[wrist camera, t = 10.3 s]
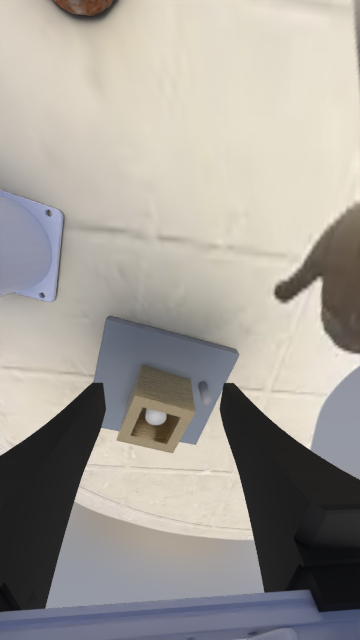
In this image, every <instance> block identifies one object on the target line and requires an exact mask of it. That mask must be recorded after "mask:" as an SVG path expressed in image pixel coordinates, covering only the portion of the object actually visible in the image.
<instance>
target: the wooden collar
mask: <svg viewBox="0 0 360 640" xmlns="http://www.w3.org/2000/svg"><path fill="white" fill-rule="evenodd" d="M147 408H148V409H151V410H155V411H159V412H163V413H166V420H165V422H164V423H162V424H160V425H152V424H149V423H148V422H147V421H146V419H145V416H146V409H147ZM195 413H196V411H195V404H194V398H193V391H192V385H191V379H187V378H184V377H181V376H178V375H174V374H171V373H168V372H164V371H161V370H158V369H155V368H151V367H148V366H145V365H142V366H141V368H140V371H139V373H138V376H137V378H136V381H135V383H134V386H133V389H132V391H131V394H130V396H129V399H128V401H127V404H126V407H125V411H124V415H123V419H122V422H121V426H120V430H119V434H118V437H117V441H121V442H125V443H130V444H134V445H139V446H143V447H147V448H152V449H156V450H161V451H165V452H169V453H173V452H174V450H175V448H176V447H177V445H178V443H179V441H180V439H181V438H182V436H183V434H184V432H185V430H186V429H187V427H188V425H189V423H190V422H191V420H192V418H193V416H194V414H195Z"/></svg>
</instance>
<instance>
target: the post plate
mask: <svg viewBox="0 0 360 640" xmlns="http://www.w3.org/2000/svg"><path fill="white" fill-rule="evenodd" d="M238 356H239V353H238V352H237V350H235V349H232V348H228V347H224V346H220V345H217V344H213V343H209V342H205V341H202V340H198V339H194V338H190V337H187V336H183V335H179V334H175V333H172V332H168V331H164V330H160V329H157V328H153V327H149V326H145V325H142V324H138V323H134V322H130V321H127V320H123V319H119V318H115V317H112V316H108V318H107V319H106V322H105V327H104V332H103V337H102V342H101V347H100V352H99V357H98V362H97V367H96V372H95V377H94V382H93V383H103V386H104V394H105V403H106V412H105V416H104V420H103V423H102V427H101V428H105V429H110V430H116V431H119V430H120V426H121V422H122V419H123V415H124V411H125V407H126V404H127V401H128V399H129V396H130V394H131V391H132V389H133V386H134V383H135V381H136V378H137V376H138V373H139V371H140V368H141V366H142V365H145V366H148V367H151V368H155V369H158V370H161V371H164V372H168V373H171V374H174V375H178V376H181V377H184V378H187V379H191V385H192V391H193V398H194V404H195V411H196V413H195V414H194V416H193V418H192V420H191V422H190V423H189V425H188V427H187V429H186V430H185V432H184V434H183V436H182V438H181V439H180V441H179V442H183V443H189V444H195V445H196V443H197V441H198V439H199V437H200V435H201V433H202V431H203V429H204V427H205V425H206V423H207V421H208V418H209V416H210V414H211V412H212V410H213V408H214V406H215V404H216V402H217V400H218V398H219V396H220V394H221V392H222V390H223V385H224V383H226V381H227V379H228V377H229V375H230V373H231V371H232V369H233V367H234V365H235V363H236V361H237V359H238ZM145 419H146V421H147V422H148V423H149V424H152V425H160V424H162V423H164V422H165V420H166V413H163V412H159V411H155V410H151V409H148V408H147V409H146V416H145Z"/></svg>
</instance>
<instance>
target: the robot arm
mask: <svg viewBox="0 0 360 640" xmlns="http://www.w3.org/2000/svg"><path fill="white" fill-rule="evenodd" d="M49 210H50V211H51V213H52V215H51V216H50V217H49V216H48V213H47V212H48V211H49ZM62 228H63V214H62V212H61V211H60V210H58V209H56V208H53V207H50V206H47V205H44V204H41V203H38V202H35V201H32V200H29V199H26V198H23V197H20V196H17V195H14V194H11V193H8V192H5V191H2V190H0V296H3V295H6V294H9V293H16V294H20V295H24V296H27V297H31V298H35V299H39V300H43V301H46V302H52V301H54V300H55V298H56V288H57V278H58V268H59V258H60V248H61V238H62ZM41 293H44V294H45V297H43V296H42V294H41ZM105 412H106V403H105V394H104V386H103V383H92V384H90V385H89V386H88V387H87V388H86V389H85V390H84V391H83V392H82V393H81V394H80V395H79V396H78V397H76V398H75V399H74V400H73V401H72V402H71V403H70V404H69V405H68V406H67V407H65V408H64V409H63V410H62V411H61V412H60V413H59V414H57V415H56V416H55V417H54V418H53V419H51V420H50V421H49V422H48V423H47V424H45V425H44V426H43V427H41V428H40V429H39V430H38V431H36V432H35V433H33V434H32V435H31V436H29V437H28V438H27V439H25V440H24V441H22V442H21V443H19V444H18V445H16V446H15V447H13V448H12V449H10V450H9V451H7V452H6V453H4V454H2V455H1V456H0V640H235V639H246V638H249V639H247V640H360V480H359V479H357V478H355V477H353V476H351V475H350V474H348V473H346V472H344V471H342V470H341V469H339V468H337V467H336V466H334V465H333V464H331V463H329V462H327V461H326V460H324V459H323V458H321V457H320V456H318V455H317V454H315V453H313V452H312V451H311V450H309V449H308V448H306V447H305V446H303V445H302V444H300V443H299V442H298V441H296V440H295V439H294V438H292V437H291V436H290V435H288V434H287V433H286V432H285V431H283V430H282V429H281V428H279V427H278V426H277V425H276V424H275V423H274V422H272V421H271V420H270V419H269V418H268V417H267V416H266V415H265V414H264V413H262V412H261V411H260V410H259V409H258V408H257V407H256V406H255V405H254V404H253V403H252V402H251V401H250V400H249V399H248V398H247V397H246V396H245V395H244V394H243V392H242V391H241V390H240V389H239V388H238V387H237V386H236V385H235V384H234V383H224V385H223V391H222V398H221V404H220V413H221V418H222V422H223V427H224V430H225V433H226V436H227V439H228V442H229V445H230V448H231V451H232V453H233V456H234V459H235V462H236V465H237V469H238V472H239V475H240V479H241V483H242V487H243V492H244V496H245V500H246V504H247V509H248V513H249V517H250V522H251V527H252V531H253V536H254V541H255V546H256V550H257V555H258V561H259V566H260V570H261V576H262V581H263V586H264V592H265V593H255V594H242V595H228V596H215V597H201V598H186V599H173V600H159V601H146V602H132V603H119V604H104V605H91V606H78V607H63V608H49V609H45V607H46V603H47V599H48V595H49V591H50V587H51V583H52V579H53V575H54V571H55V567H56V564H57V560H58V556H59V552H60V549H61V545H62V542H63V538H64V534H65V531H66V527H67V524H68V520H69V517H70V513H71V510H72V507H73V503H74V500H75V497H76V493H77V490H78V487H79V484H80V481H81V478H82V475H83V472H84V469H85V467H86V464H87V462H88V459H89V457H90V455H91V452H92V450H93V447H94V445H95V442H96V440H97V437H98V435H99V432H100V429H101V427H102V423H103V420H104V416H105Z"/></svg>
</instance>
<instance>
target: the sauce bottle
mask: <svg viewBox="0 0 360 640" xmlns="http://www.w3.org/2000/svg"><path fill="white" fill-rule="evenodd" d="M54 1H55V2H56V3H57V4H58V6H60V7H61V8H63V9H65V10H66V11H67V12H70V13H72V14H77V15H87V16H94V15H96V14H99V13H101V12H102V11H104V10H105V9H107V8H109V7H110V6H111V4H112V2H113V1H114V0H54Z"/></svg>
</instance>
